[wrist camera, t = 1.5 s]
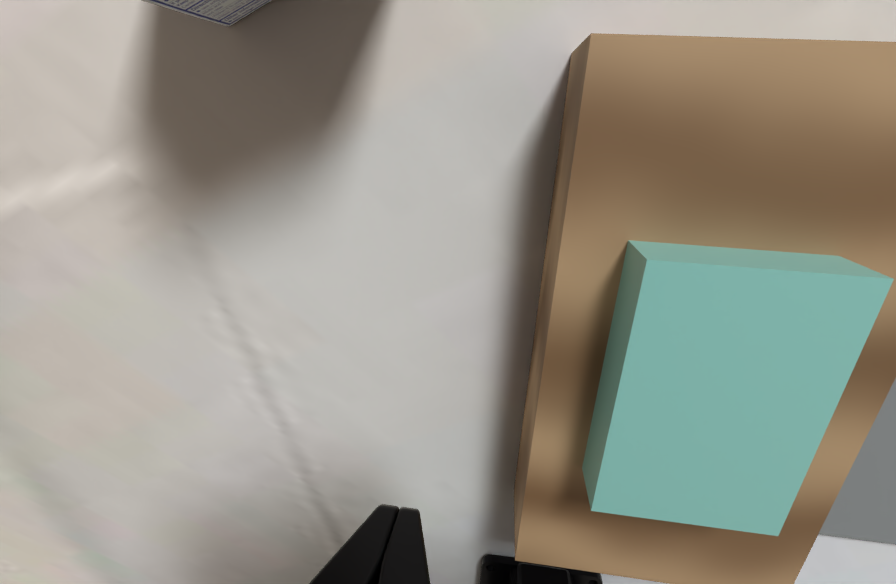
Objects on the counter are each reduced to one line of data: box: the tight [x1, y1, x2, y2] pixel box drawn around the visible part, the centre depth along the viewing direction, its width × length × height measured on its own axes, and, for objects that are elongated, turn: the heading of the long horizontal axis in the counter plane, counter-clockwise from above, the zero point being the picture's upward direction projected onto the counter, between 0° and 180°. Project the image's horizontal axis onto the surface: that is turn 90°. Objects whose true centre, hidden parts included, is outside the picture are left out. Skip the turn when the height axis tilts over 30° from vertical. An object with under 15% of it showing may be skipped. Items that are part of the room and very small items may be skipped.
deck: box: [514, 33, 896, 584], centre depth 17 cm, size 20×11×4 cm, turn 177°
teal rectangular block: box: [582, 240, 894, 536], centre depth 14 cm, size 9×6×2 cm, turn 177°
